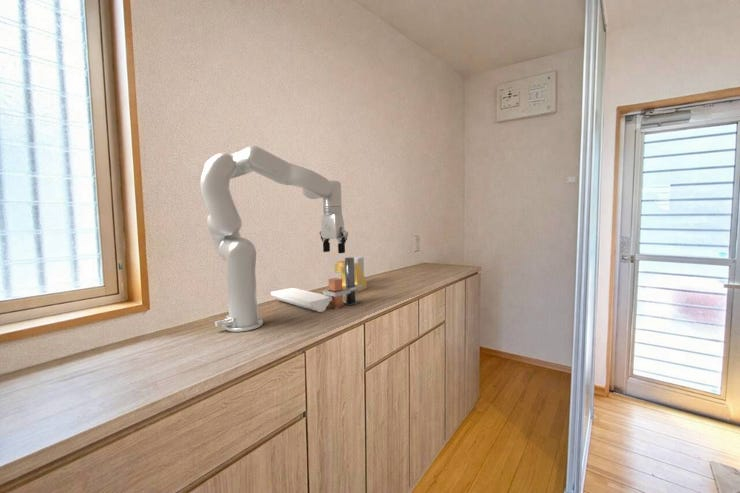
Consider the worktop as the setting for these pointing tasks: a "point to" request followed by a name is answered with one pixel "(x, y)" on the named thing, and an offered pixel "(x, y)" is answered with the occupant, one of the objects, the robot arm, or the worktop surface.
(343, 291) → the rosette post
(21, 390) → the worktop surface
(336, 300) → the orange-brown rectangular block
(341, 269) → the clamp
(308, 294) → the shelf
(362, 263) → the skincare box
